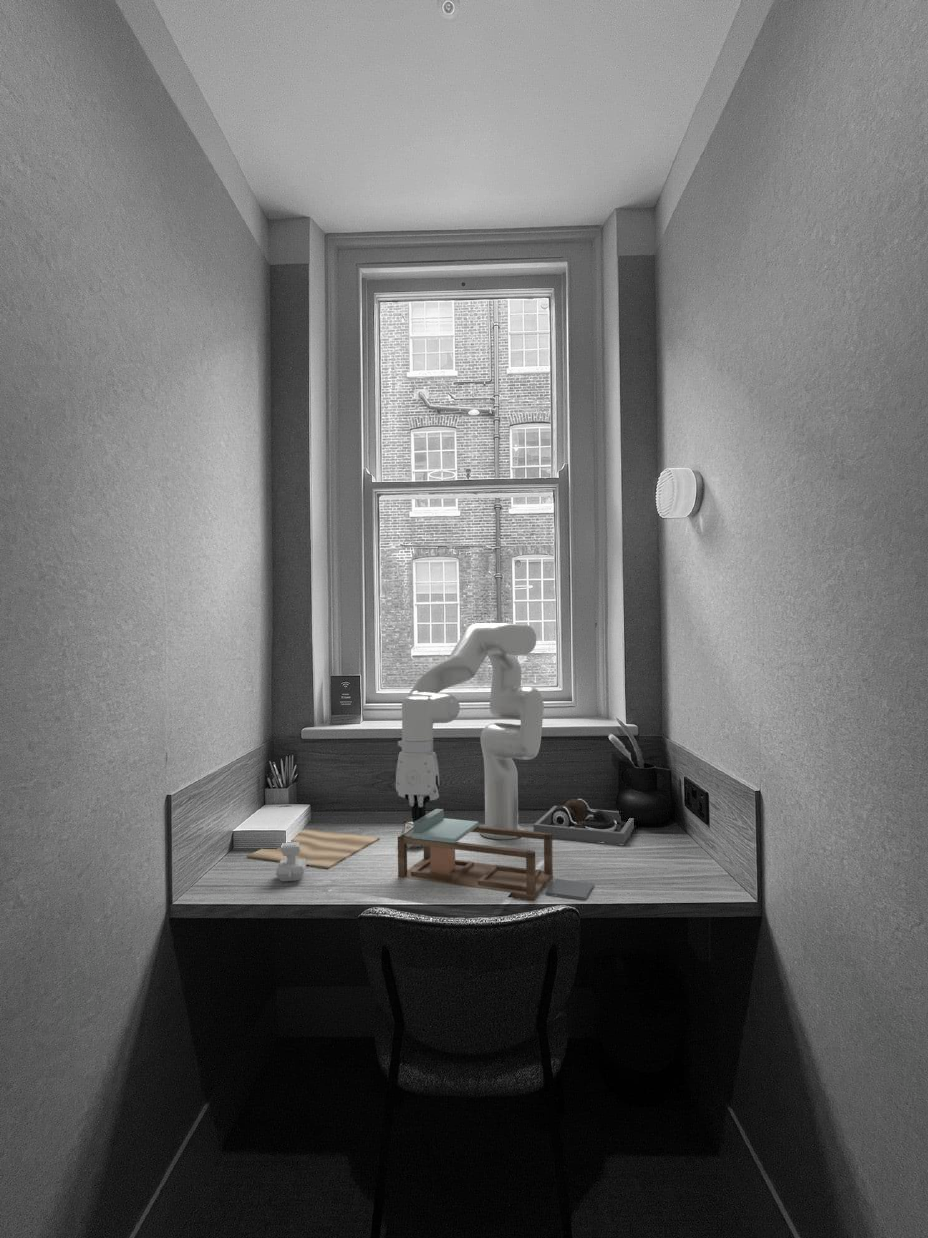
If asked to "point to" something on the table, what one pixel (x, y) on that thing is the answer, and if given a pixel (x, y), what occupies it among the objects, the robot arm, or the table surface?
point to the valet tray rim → (582, 833)
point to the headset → (582, 816)
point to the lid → (441, 827)
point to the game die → (409, 833)
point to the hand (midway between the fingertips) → (418, 821)
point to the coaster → (570, 889)
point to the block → (442, 860)
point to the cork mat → (320, 848)
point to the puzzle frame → (484, 865)
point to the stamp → (291, 863)
